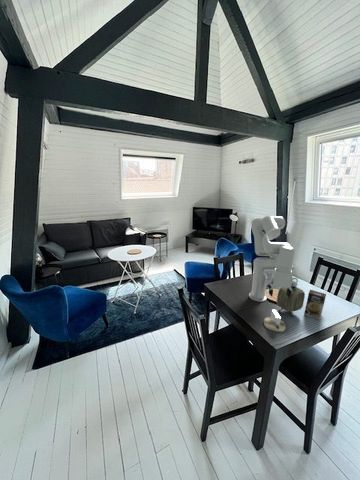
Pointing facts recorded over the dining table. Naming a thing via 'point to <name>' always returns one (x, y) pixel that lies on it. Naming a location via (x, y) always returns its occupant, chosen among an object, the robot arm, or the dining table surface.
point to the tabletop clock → (290, 299)
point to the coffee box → (315, 304)
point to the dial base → (271, 326)
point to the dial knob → (275, 318)
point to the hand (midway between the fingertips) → (279, 295)
